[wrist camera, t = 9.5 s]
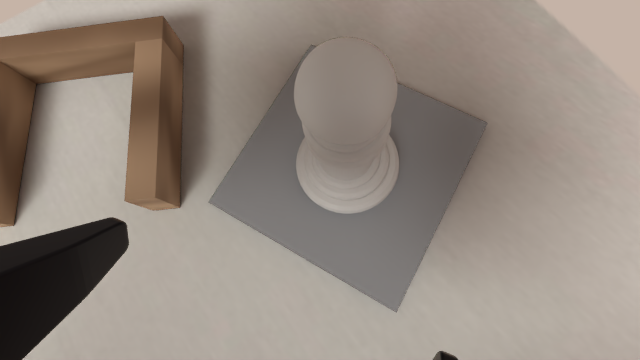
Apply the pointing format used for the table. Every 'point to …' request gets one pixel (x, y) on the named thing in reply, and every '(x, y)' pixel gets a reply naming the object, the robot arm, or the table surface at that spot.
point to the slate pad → (364, 227)
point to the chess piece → (346, 125)
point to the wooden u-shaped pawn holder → (91, 61)
